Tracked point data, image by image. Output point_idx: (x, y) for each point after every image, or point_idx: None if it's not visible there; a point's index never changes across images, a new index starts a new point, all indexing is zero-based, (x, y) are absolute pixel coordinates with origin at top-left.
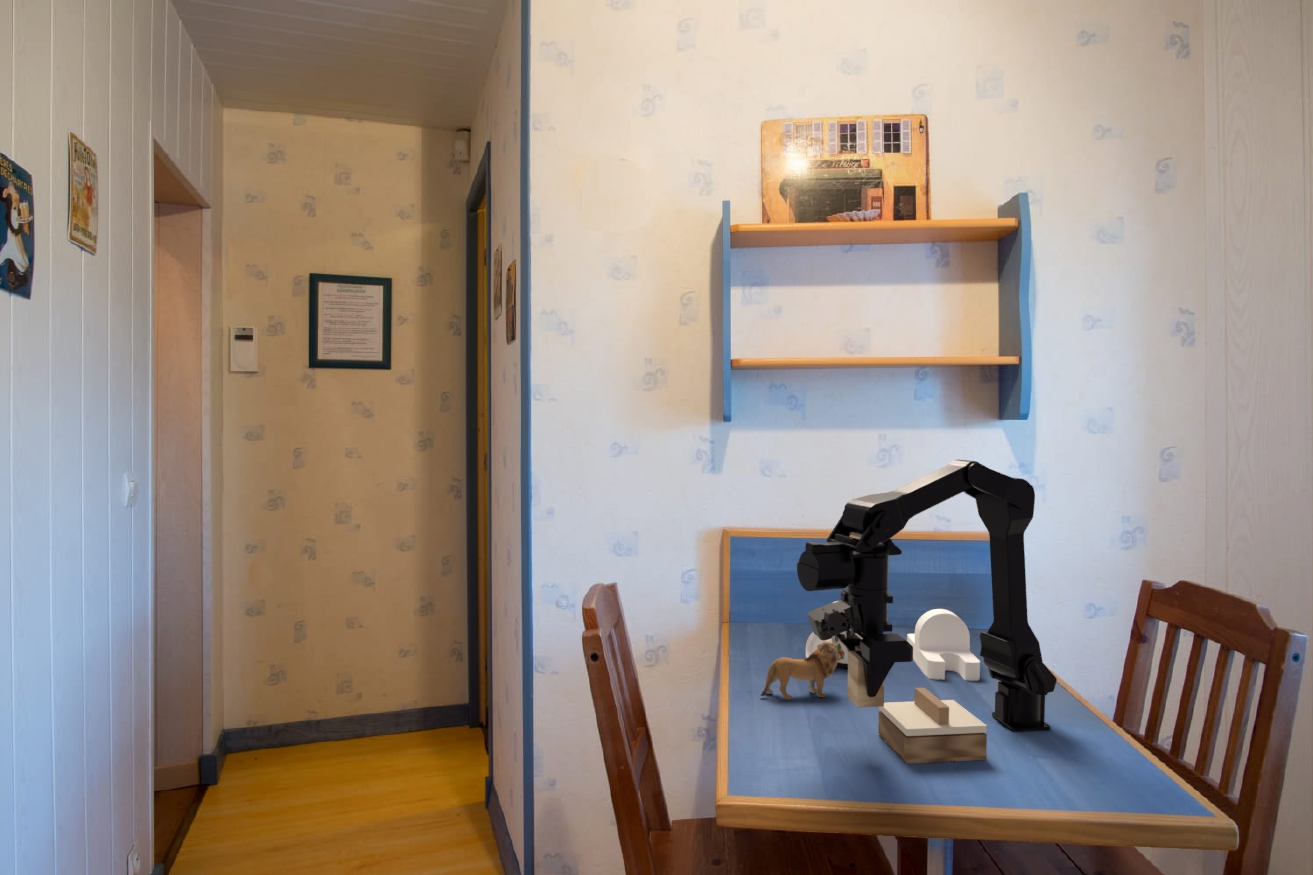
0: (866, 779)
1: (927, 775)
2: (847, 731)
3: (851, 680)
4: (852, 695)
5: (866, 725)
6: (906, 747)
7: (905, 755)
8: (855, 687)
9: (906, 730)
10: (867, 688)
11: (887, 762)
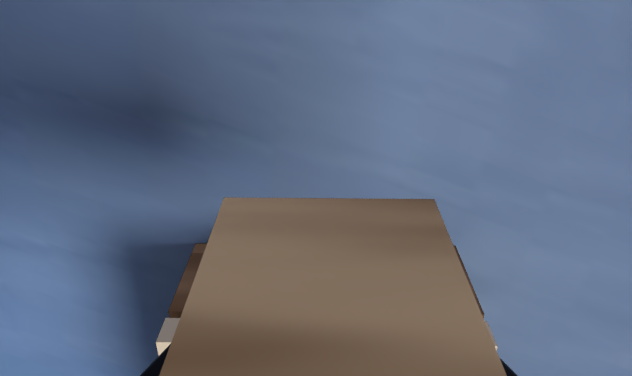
0: (45, 48)
1: (109, 271)
2: (524, 142)
3: (367, 313)
4: (328, 228)
5: (554, 235)
6: (180, 283)
7: (196, 260)
8: (250, 289)
9: (159, 336)
10: (156, 367)
11: (209, 187)
